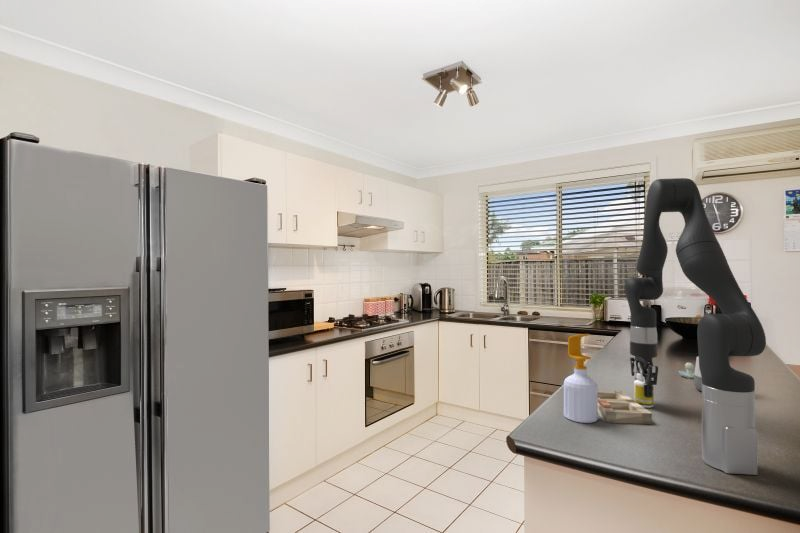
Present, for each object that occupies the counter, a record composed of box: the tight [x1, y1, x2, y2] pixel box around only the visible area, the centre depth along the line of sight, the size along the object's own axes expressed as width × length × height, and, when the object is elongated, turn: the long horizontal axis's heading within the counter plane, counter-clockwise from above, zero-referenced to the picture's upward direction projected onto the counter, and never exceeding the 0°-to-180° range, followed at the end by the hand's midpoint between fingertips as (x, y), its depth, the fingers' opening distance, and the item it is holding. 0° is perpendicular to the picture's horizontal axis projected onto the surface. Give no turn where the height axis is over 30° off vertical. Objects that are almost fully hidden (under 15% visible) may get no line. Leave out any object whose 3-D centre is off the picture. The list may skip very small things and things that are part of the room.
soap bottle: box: [563, 333, 599, 424], centre depth 121 cm, size 9×9×25 cm
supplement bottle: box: [633, 373, 655, 409], centre depth 132 cm, size 5×5×10 cm
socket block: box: [598, 390, 653, 425], centre depth 127 cm, size 21×12×4 cm, turn 173°
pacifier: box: [678, 362, 695, 380], centre depth 166 cm, size 7×6×6 cm
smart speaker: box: [693, 356, 702, 393], centre depth 146 cm, size 10×9×14 cm
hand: (643, 394), depth 132 cm, fingers closed on supplement bottle, 5 cm apart
